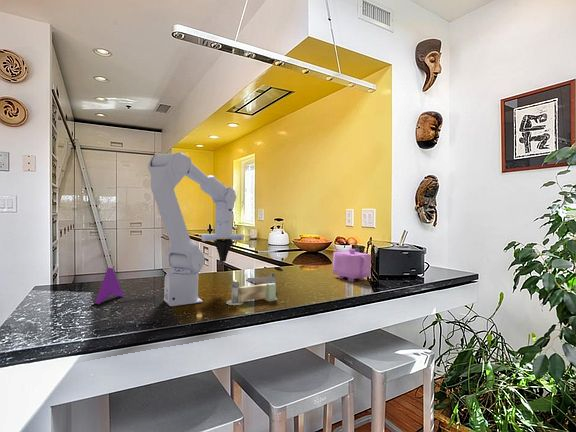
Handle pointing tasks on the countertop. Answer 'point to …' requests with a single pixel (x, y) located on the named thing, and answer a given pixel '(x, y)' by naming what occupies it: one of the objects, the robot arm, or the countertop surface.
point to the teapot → (351, 264)
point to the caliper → (264, 279)
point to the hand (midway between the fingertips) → (222, 261)
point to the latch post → (271, 292)
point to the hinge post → (234, 294)
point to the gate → (252, 292)
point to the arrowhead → (109, 287)
